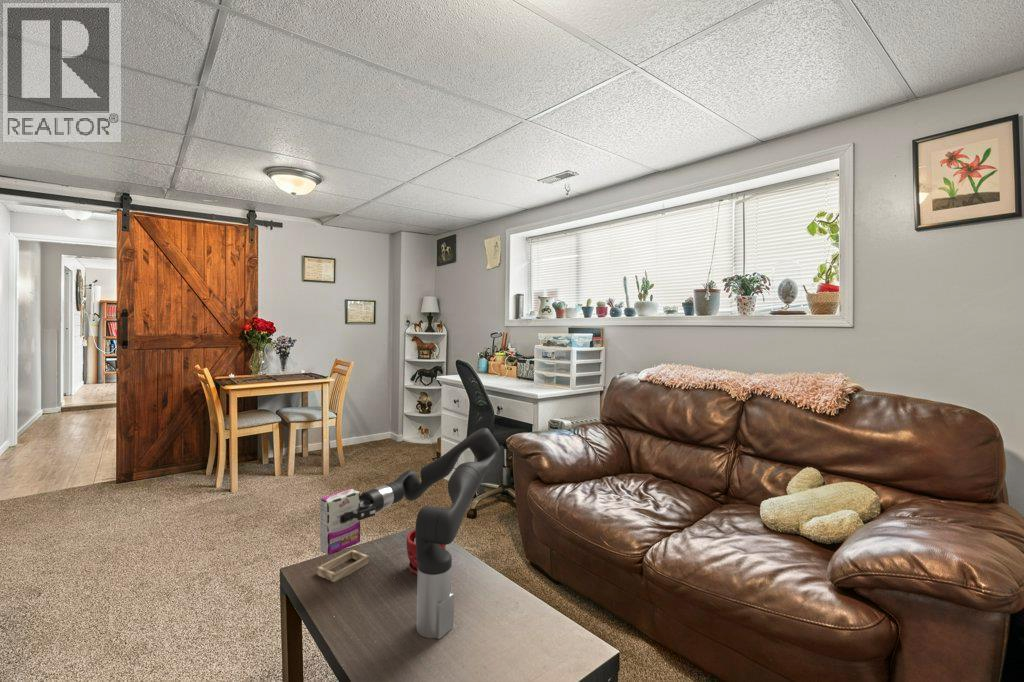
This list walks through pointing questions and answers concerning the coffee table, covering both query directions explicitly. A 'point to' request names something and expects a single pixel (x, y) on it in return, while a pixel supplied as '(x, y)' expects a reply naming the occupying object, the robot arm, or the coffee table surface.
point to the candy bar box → (338, 521)
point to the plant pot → (414, 551)
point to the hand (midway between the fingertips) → (334, 517)
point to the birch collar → (352, 554)
